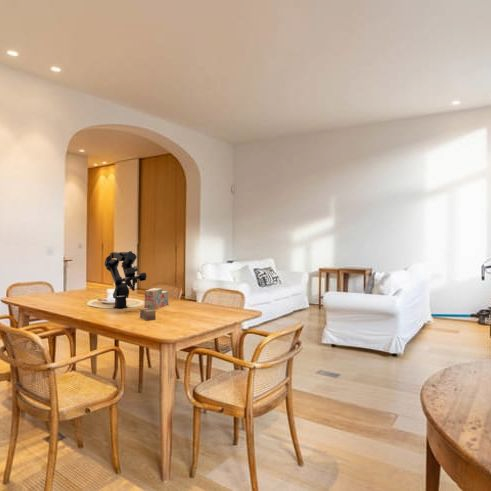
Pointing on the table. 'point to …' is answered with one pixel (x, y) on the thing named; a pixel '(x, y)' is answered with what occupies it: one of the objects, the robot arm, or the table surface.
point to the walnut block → (147, 314)
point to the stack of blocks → (155, 298)
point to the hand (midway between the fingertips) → (133, 290)
